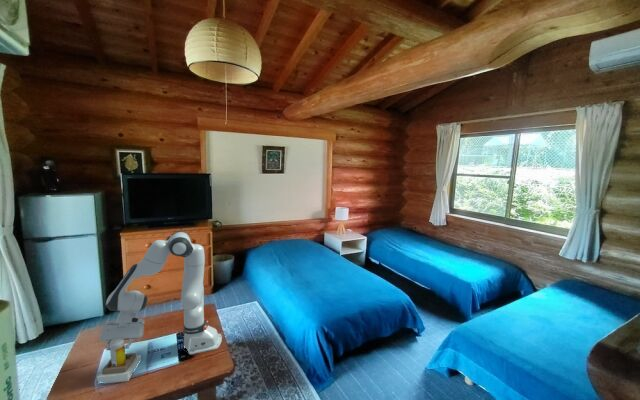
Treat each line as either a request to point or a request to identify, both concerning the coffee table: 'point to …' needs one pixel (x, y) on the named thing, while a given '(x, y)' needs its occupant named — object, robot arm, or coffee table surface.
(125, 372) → the display plinth
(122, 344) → the beer can
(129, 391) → the coffee table surface
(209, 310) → the coffee table surface
